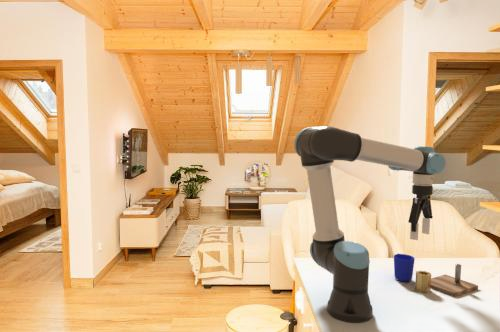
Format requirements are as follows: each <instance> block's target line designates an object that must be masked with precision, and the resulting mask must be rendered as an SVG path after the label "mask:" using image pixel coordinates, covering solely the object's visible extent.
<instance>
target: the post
mask: <svg viewBox="0 0 500 332" xmlns="http://www.w3.org/2000/svg"><path fill="white" fill-rule="evenodd" d="M454 270H455V272H454V278H455V282H454V284H455V285H461V283H460V280H461V276H462V275H461V273H462V264H459V263H456V264H455V269H454Z"/></svg>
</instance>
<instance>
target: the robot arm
mask: <svg viewBox="0 0 500 332" xmlns="http://www.w3.org/2000/svg"><path fill="white" fill-rule="evenodd" d="M293 147H294V151H295V152H296V154H297V155H298V156H299V157H300V161H301V166H302V168H304V169H305V170H306V173H307V174H306V175H307V181H308V186H309V195H310V200H311V209H312V215H313V221H314V228H315V232H314V233H313V234H312V241H311V243H310V246H309V253H310V256H311V258H312V260H313V262H315V263H316V264H317V265H318V266H319V267H321V268H323V270H326V271H327V272H329V273H330V274H331V275H333V277H332V280H333V281H332V291H331V293H330V296H329V299H328V301H327V304H326V305H327V309H326V310H327V313H328V315H330V316H331V317H333V318H334V319H336V320H339V321H343V322H347V323H363V322H367V321H370V320H371V319H372V317H373V305H372V304H371V299H370V296H369V274H370V272H369V271H370V262H371V261H370V254H369V250H368V249H367V247H365V245H363V244H360V243H358V242H354V241H349V240H346V239H345V234H344V232H343V230H341V229H340V228H339V227H340V226H339V220H338V212H337V206H336V199H335V191H334V185H333V177H332V169H331V166H332V165H333V164H334V161H344V162H346V161H347V162H356V161H362V162H368V163H372V164H377V165H382V166H383V165H384V166H388V167H387V168H389V169H390V170H392V171H397V172H399V171H408V172H412V181H411V182H412V184H413V185H412V187H411V189H412V190H411V193H412V195H416V197H412V202H411V203H412V204H411V208H410V209H411V210H410V213H409V218H408V224H410V233H409V234H410V236H409V239H410V240H413V241H419V226H420V225H419V220H420V217H421V213H422V215H423V217H422V222H421V224H422V225H421V234H425V235H430V226H431V219H433V212H432V211H433V210H432V203H431V199H432V197H431V196H432V195H433V189H434V186H433V184H434V180H435V177H434V175H438V174H441V173H442V172H443V171H444V170H445V168H446V164H447V163H446V158H445V156H444V155H443V154H442V153H439V152H435V148H434V147H433V146H415V147H414V148H410V147H406V146H400V145H395V144H391V143H388V142H383V141H377V140H372V139H368V138H363V137H362V136H361V135H360V134H359V133H355V132H352V131H349V130H344V129H340V128H338V127H335V126H327V125H326V126H309V127H305V128H303V129H301V130H300V131H299V132H298V133H297V135H296V136H295V139H294V144H293Z"/></svg>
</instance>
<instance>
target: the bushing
mask: <svg viewBox="0 0 500 332" xmlns="http://www.w3.org/2000/svg"><path fill="white" fill-rule="evenodd" d="M431 278H432V274H431V272H429V271H427V270H418V271H415V288H414V289H415V291H416V292H419V293H422V294H429V293H431V291H432V290H431V289H432V288H431Z"/></svg>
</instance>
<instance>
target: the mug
mask: <svg viewBox="0 0 500 332" xmlns="http://www.w3.org/2000/svg"><path fill="white" fill-rule="evenodd" d="M415 260H416V259H415V257H414V256H413V255H410V254H403V253H397V254H394V255H393V268H394V269H393V270H394V279H396V280H397V281H399V282H403V283H404V282H405V283H407V282H411V281H412V279H413V275H414V267H415Z"/></svg>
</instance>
